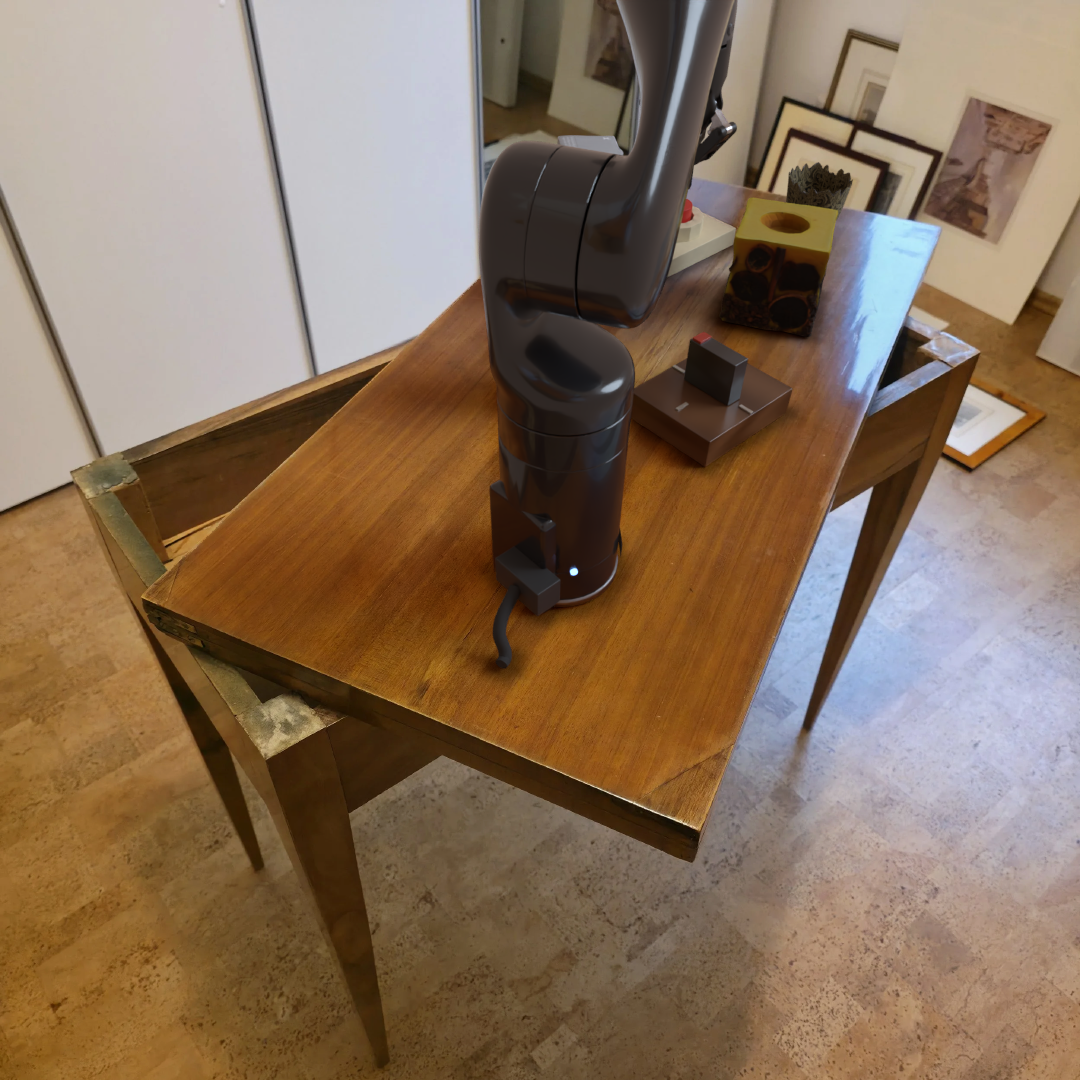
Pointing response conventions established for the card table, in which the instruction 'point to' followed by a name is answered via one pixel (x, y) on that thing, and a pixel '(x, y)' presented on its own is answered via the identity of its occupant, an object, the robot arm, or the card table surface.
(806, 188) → the cup
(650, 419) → the dial panel
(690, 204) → the button
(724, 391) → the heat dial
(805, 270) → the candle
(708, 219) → the kettle base
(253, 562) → the card table surface
